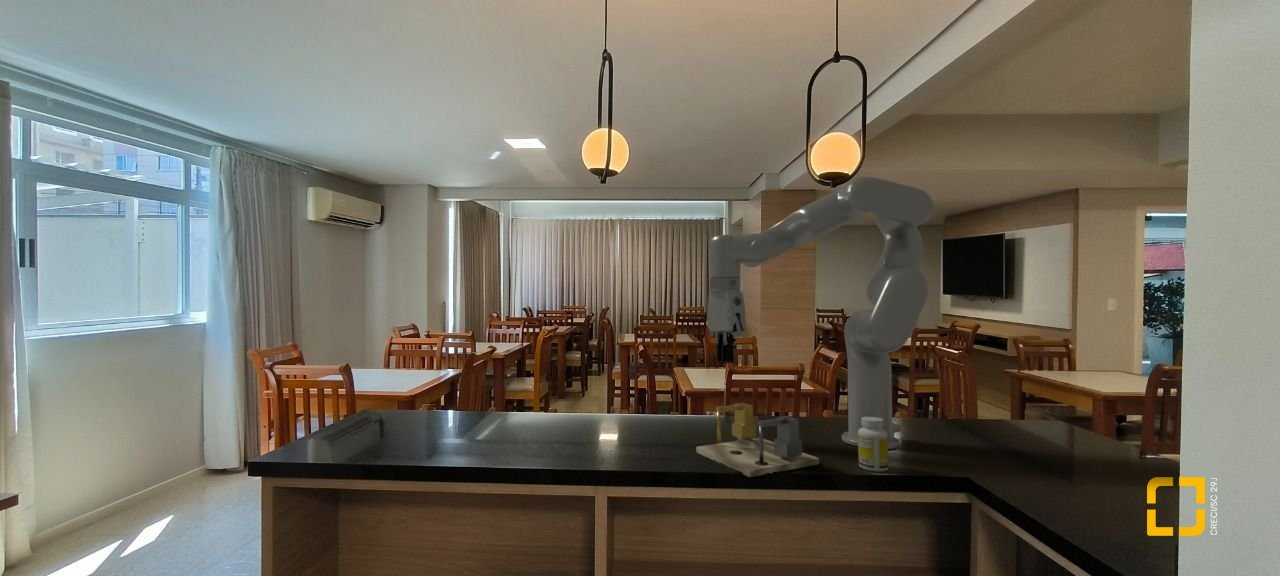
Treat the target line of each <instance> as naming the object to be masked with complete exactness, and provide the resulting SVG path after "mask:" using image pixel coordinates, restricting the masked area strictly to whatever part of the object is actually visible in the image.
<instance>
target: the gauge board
mask: <svg viewBox="0 0 1280 576" xmlns="http://www.w3.org/2000/svg"><path fill="white" fill-rule="evenodd" d="M695 449H696V453H697V454H699V455H701V456H703V457H705V458H707V457H708V459H709V460H712V461H714V460H715V461H714V462H716V461H717V462H716V463H718V462H719V463H718V464H720V463H722V464H724V465H726V466H725V467H727V466H728V467H727V468H729V467H730V468H729V469H731V468H733V469H735V470H737V471H740V472H742V473H743V474H742V475H744V476H746V477H748V478H754V477H758V476H764V474H765V475H767V474H766V473H770V474H774V473H773V472H776V473H780V471H781V472H785V471H790V470H796V469H801V468H802V469H803V468H806V467H807V468H808V467H811V466H816V465H819V464H820V457H817V456H814V455H811V454H808V453H805V452H803V451H802V455H799V456H793V457H784V456H782V455H779V454H776V453H774V441H772V440H768V439H765V438H763V453H764V463H759V437H754V438H747V439H740V438H737V440H734V441H728V442H721V443H714V444H713V443H712V444H706V445H705V444H704V445H701V446H700V445H698V446H696V447H695ZM722 464H721V465H722ZM724 465H723V466H724ZM733 469H732V470H733ZM735 470H734V471H735ZM737 471H736V472H737Z"/></svg>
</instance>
